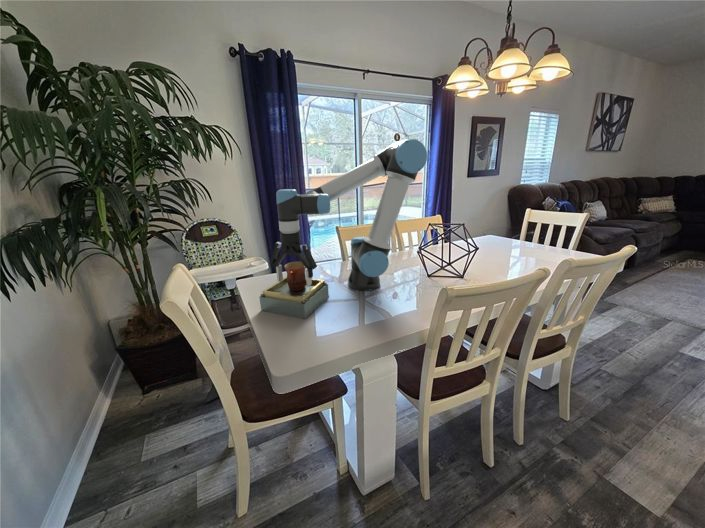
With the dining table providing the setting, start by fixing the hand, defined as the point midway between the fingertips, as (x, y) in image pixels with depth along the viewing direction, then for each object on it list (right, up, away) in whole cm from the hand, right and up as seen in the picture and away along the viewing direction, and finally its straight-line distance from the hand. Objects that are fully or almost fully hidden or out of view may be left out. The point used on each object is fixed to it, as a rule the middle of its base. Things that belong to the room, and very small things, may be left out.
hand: (294, 282), depth 116 cm
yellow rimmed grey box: (-1, -9, +4) cm, 10 cm away
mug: (0, -3, +1) cm, 3 cm away
